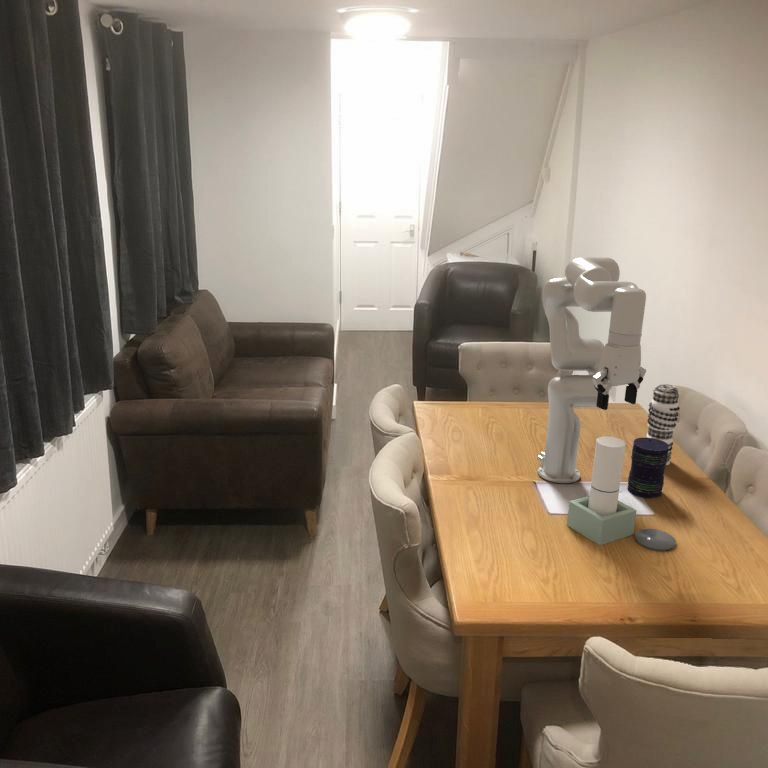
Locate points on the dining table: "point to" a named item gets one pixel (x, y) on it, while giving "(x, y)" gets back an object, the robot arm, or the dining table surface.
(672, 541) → the grey round disc
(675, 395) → the decorative candle
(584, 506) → the collar
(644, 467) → the storage jar
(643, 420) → the dining table surface
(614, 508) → the cylindrical container
